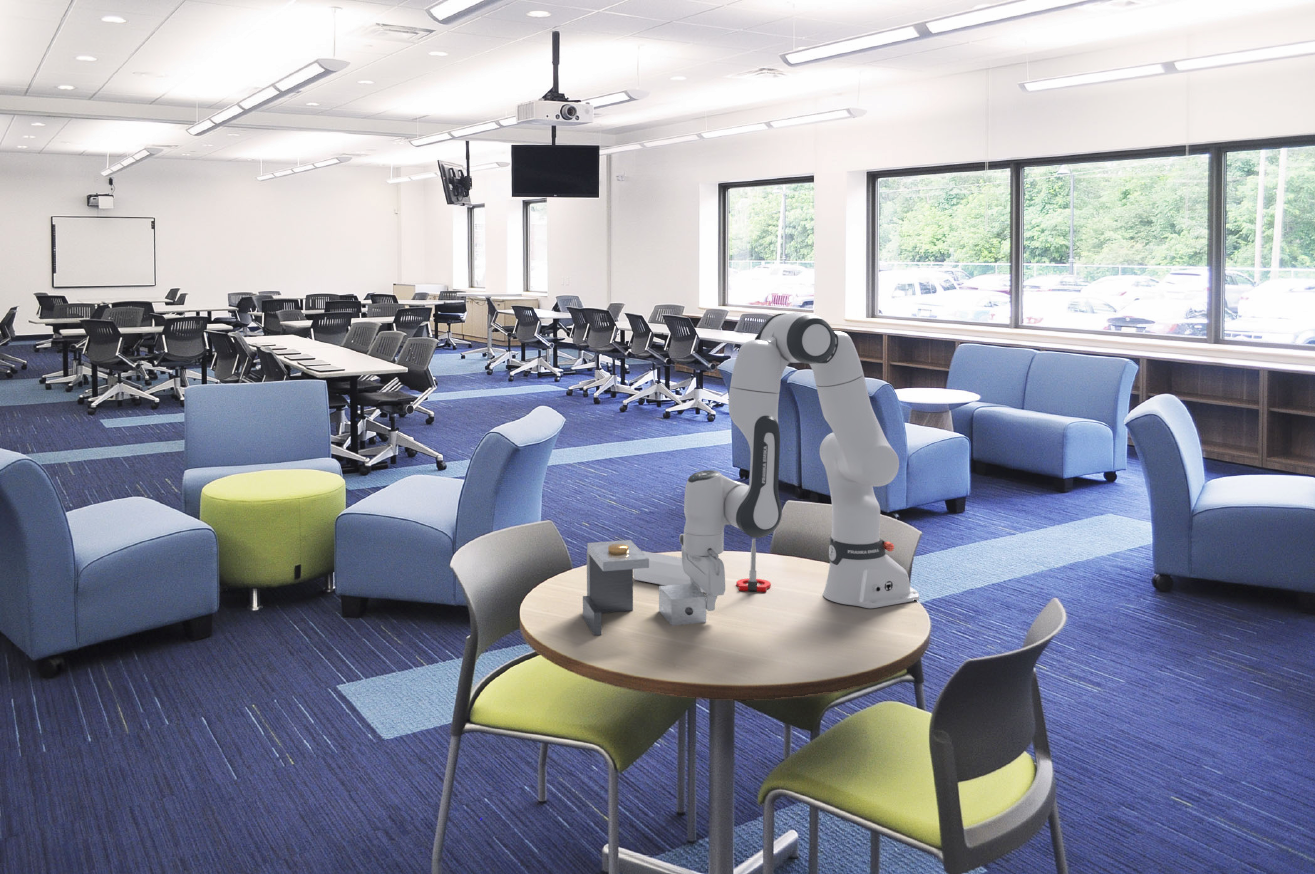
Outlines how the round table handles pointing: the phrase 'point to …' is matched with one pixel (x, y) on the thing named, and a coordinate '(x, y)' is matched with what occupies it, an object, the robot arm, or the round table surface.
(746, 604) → the round table surface
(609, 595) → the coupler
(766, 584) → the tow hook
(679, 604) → the brushed aluminum block
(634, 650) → the round table surface
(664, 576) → the crystal
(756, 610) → the round table surface
